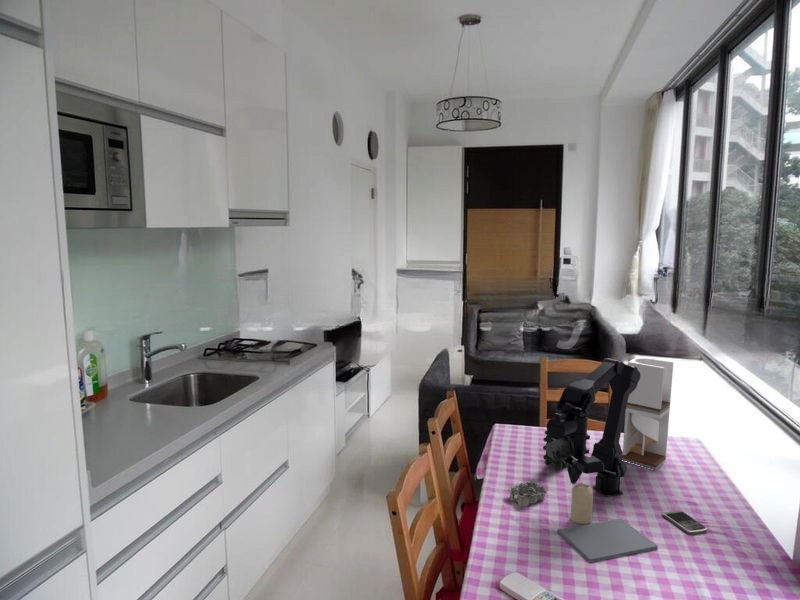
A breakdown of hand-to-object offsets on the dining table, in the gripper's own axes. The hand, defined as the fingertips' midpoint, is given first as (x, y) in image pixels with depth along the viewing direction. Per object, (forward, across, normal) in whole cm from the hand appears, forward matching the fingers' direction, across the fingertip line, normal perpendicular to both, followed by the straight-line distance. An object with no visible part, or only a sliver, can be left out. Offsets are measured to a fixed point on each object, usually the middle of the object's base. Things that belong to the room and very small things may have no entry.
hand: (573, 483), depth 163 cm
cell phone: (+9, +14, +26) cm, 31 cm away
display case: (+9, -23, +44) cm, 50 cm away
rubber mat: (+9, +15, 0) cm, 18 cm away
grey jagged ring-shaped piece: (+9, -11, -8) cm, 16 cm away
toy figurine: (+9, -31, +17) cm, 36 cm away
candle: (+9, +4, 0) cm, 10 cm away
